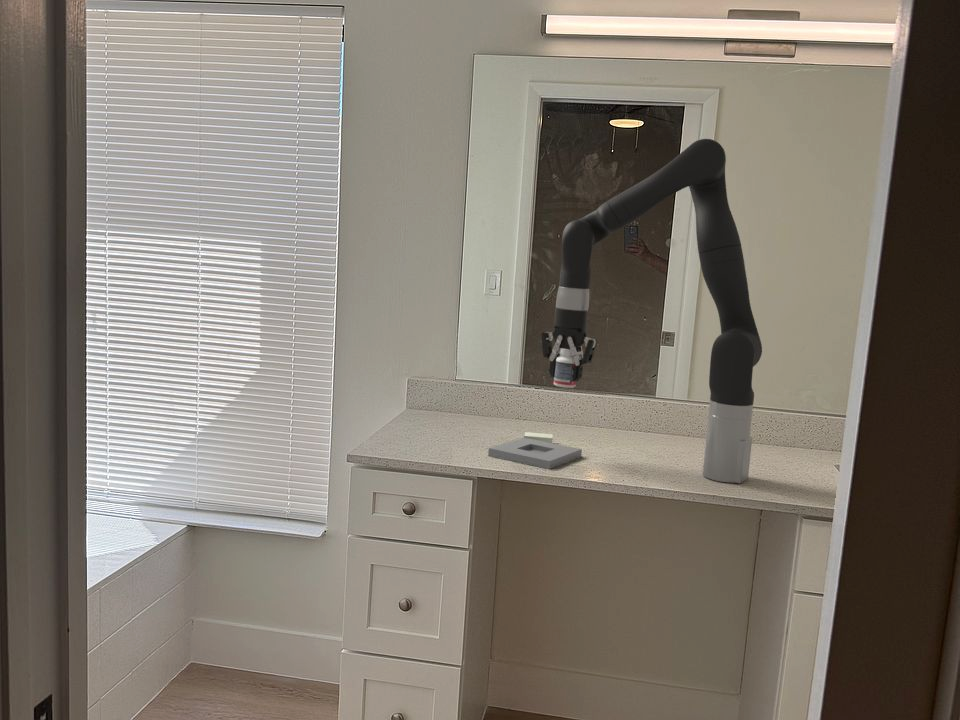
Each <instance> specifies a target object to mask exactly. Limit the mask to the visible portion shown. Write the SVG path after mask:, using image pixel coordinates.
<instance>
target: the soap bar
mask: <svg viewBox="0 0 960 720" xmlns="http://www.w3.org/2000/svg"><path fill="white" fill-rule="evenodd" d="M523 437H524V438H529V439H534V440H539V441H544V442H549V443H553V438H554V434H551V433H540V432H529V431H525V432H524V436H523Z"/></svg>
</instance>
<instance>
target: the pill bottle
mask: <svg viewBox="0 0 960 720" xmlns="http://www.w3.org/2000/svg"><path fill="white" fill-rule="evenodd" d="M559 354H560V356H559V357H557V359H556V367H555V376H554V377H553V385H554V386H556V387H559V388H565V389H566V388H567V389H569V388H571V389H573V388H575V387H577V386H576V385H577V382H575V381H573V371H574V366H575V362H574V358H573V356H572V354H571V350H570V349H564V348H560V351H559Z"/></svg>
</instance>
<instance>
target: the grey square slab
mask: <svg viewBox="0 0 960 720" xmlns="http://www.w3.org/2000/svg"><path fill="white" fill-rule="evenodd" d="M582 452H583V449H582V448H579V447H578V448H577V447H573V446H569V445H568V446H567V445H565V444H564V445H563V444H557V443H553V442H552V443H549V442H544V441H539V440H534V439H529V438H524V436H523V437H520V438H517V439H514V440H511V441H508V442H504V443H501V444H497V445H495V446H492V447H488V454H487V455H488V457H492V458H497V459H502V460H507V461H511V462H515V463H519V464H524V465H530V466H534V467H539V468H542V469H547V470H551V469H552V468H555V467H558V466H560V465H563V464H565V463H568V462H571V461H573V460H576V459H579V458H582Z"/></svg>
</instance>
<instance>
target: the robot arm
mask: <svg viewBox="0 0 960 720" xmlns="http://www.w3.org/2000/svg"><path fill="white" fill-rule="evenodd" d="M726 157H727V156H726V151H725V149H724V147H723V146H722V145H721V144H720V143H719V142H718V141H716V140H714V139H711V138H701V139H699V140H695V141H694V142H692V143H691V144H690V145H689V146H688V147H686V148H685V149H684V150H683V151H682V152H680V153H679V154H678V155H677V156H676V157H674V158H673V159H672V160H670V161H669V162H668V163H667V164H665V165H664V166H662V167H661V168H660V169H658V170H657V171H655V172H654V173H653V174H651V175H650V176H648V177H646V178H645V179H643V180H640V182H638V183H636V184H634V185H632V186H631V187H629V188H627V189H625V190H623V191H622V192H620V193H618V194H617V195H615V196H613V197H612V198H610V199H608V200H607V201H605V202H604V203H602V204H601V205H600V206H599V207H598V208H596V210H594V211H592V212H589V213H588V214H587V215H585V216H582V217H581V218H579V219H574V220H571V221H570V222H568V223H567V224H566V226H565V227H564V228H563V231H562V239H561V267H560V271H559V272H560V273H559V280H558V281H559V283H558V290H557V294H556V302H555V311H554V321H553V322H554V323H553V324H554V329H553V330H552V331H544V332H541V345H542V346H541V347H542V356H543V358H547V359H548V360H549V372H548V373H549V375H550V377H551V378H554V376H555V367H556V359H557V357H559V356H560V354H559V351H560V348H564V349H570V350H571V354H572V356H573V358H574V362H575V366H574V371H573V381H575V382H576V383H577V382H579V381H580V380H582V377H583V372H584V371H583V369H584V366H585V365H589V364H591V363H592V362H593V358H594V354H595V350H596V348H597V344H598V340H597V338H591V337H588V336H587V333H586V330H587V327H588V326H587V325H588V315H589V304H590V285H591V276H592V271H591V259H592V258H591V257H592V250H593V246H595V245H597V244H598V243H600V242H601V241H602V240H604V239H606V238H607V237H608V236H610V235H611V234H613V233H616V232H618V231H620V230H622V229H623V228H625V227H627V226H629V225H631V224H632V223H634V222H636V221H638V220H639V219H640V218H642V217H643V216H645V215H646V214H647V213H649V212H651V211H652V210H653V209H655V208H656V207H657V206H659V205H660V204H661V203H662V202H664V201H666V200H667V199H668V198H670V197H671V196H673V195H674V194H676V193H678V192H680V191H681V190H683V189H685V188H687V187H689V188H688V189H689V191H690V194H691V198H692V202H693V206H694V212H695V229H696V230H695V231H696V233H695V234H696V244H697V253H698V257H699V263H700V268H701V269H700V270H701V271H702V272H701V273H702V276H703V279H704V282H705V284H706V287H707V290H708V291H709V294H710V295H711V298H712V299H713V301H714V304H715V307H716V310H717V313H718V318H719V324H720V332H721V333H720V334H719V335H718V336H717V337H716V338H715V340H714V342H713V344H712V347H711V353H710V363H709V378H708V380H709V381H708V386H709V391H710V397H709V405H708V406H709V409H708V416H707V425H706V426H707V428H706V435H705V436H706V438H705V448H704V457H703V464H702V476H703V477H704V478H707V479H709V480H713V481H717V482H723V483H734V484H735V483H736V484H742V483H744V482H745V481H747V480H748V479H749V473H750V464H751V453H752V444H753V436H751V429H752V420H753V410H754V409H753V408H754V401H755V392H754V389H753V387H752V386H753V385H752V384H753V371H754V369H753V368H754V367H755V366H756V365H757V364H758V363H759V361H760V359H761V357H762V354H763V346H762V345H763V344H762V341H761V337H760V335H759V331H758V328H757V324H756V322H755V317H754V314H753V311H752V306H751V300H750V292H749V284H748V278H747V272H746V265H745V258H744V253H743V247H742V243H741V239H740V238H741V237H740V235H739V231H738V227H737V225H736V222H735V219H734V217H733V216H734V215H733V214H732V211H731V208H730V205H729V201H728V194H727V193H728V191H727V183H726V161H727V158H726ZM553 339H554V342H555V343H554V345H553V342H552V341H553ZM583 344H584V345H585V350H584V351H583Z"/></svg>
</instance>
